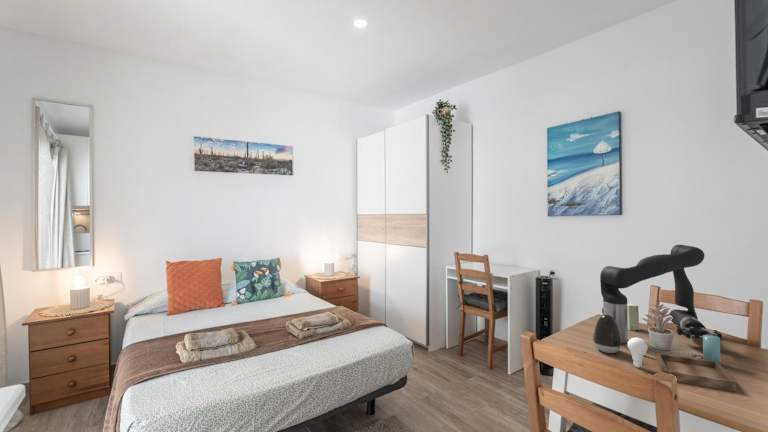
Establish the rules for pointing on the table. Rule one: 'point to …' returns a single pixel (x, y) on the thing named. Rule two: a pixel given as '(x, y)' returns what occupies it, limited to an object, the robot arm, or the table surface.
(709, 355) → the teal canister
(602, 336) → the black rounded dome
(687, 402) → the table surface
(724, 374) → the walnut tray
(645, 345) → the lightbulb
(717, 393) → the table surface
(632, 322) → the skincare box
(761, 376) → the table surface
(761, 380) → the table surface
